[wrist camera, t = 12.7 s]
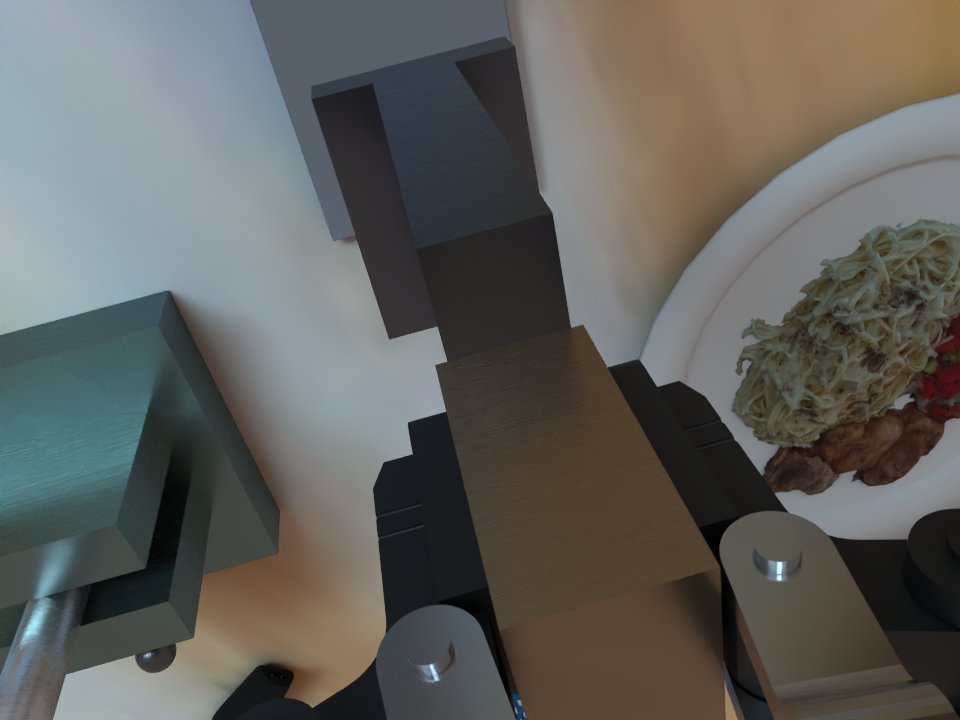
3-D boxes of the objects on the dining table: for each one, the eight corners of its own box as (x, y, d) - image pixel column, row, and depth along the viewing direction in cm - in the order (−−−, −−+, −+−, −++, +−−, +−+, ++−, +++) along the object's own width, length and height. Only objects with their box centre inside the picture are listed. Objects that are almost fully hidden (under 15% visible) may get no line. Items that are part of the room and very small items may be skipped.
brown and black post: (311, 85, 20) (315, 534, 7) (504, 35, 20) (851, 384, 7) (385, 318, 24) (474, 871, 11) (545, 275, 24) (815, 769, 11)
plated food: (528, 282, 37) (546, 317, 35) (1144, -51, 34) (1219, -42, 31) (707, 608, 54) (729, 649, 52) (1130, 408, 51) (1178, 442, 48)
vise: (-106, 363, 34) (-642, 1049, 15) (365, 237, 34) (435, 735, 15) (73, 590, 42) (-116, 1199, 24) (444, 486, 43) (551, 996, 24)
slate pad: (237, -42, 28) (236, -39, 27) (483, -104, 28) (486, -103, 27) (332, 235, 34) (333, 241, 33) (532, 181, 34) (535, 186, 34)
